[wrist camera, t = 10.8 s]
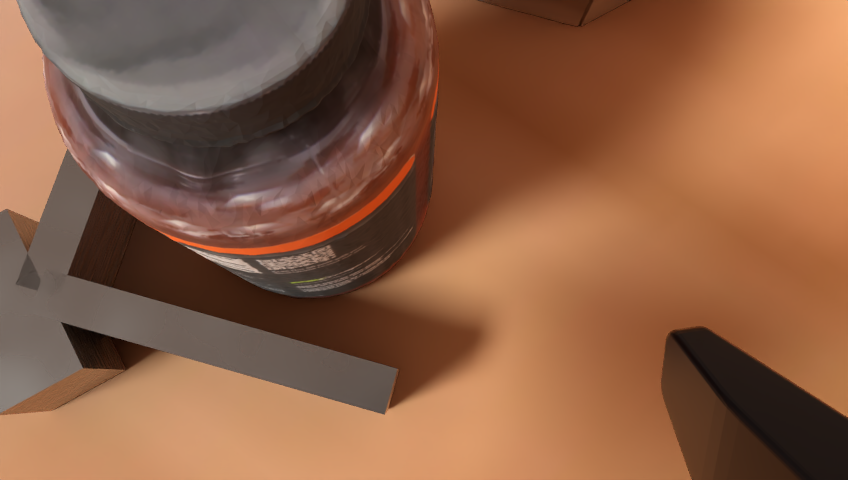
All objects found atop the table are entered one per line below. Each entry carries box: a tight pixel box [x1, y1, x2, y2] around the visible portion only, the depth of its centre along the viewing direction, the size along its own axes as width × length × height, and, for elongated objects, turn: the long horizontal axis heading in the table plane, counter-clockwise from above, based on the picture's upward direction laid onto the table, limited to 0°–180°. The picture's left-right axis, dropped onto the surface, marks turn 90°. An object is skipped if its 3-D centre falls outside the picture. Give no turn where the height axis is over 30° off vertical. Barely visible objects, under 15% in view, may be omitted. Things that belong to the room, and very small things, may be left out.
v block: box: [0, 149, 399, 415], centre depth 18 cm, size 8×12×2 cm, turn 29°
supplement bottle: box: [17, 0, 439, 298], centre depth 14 cm, size 6×6×11 cm
